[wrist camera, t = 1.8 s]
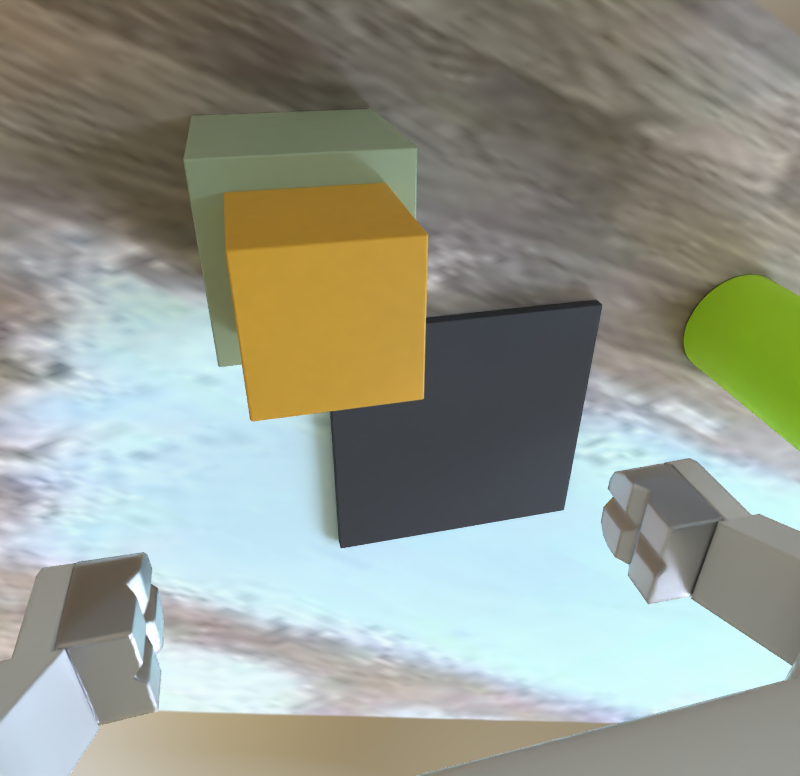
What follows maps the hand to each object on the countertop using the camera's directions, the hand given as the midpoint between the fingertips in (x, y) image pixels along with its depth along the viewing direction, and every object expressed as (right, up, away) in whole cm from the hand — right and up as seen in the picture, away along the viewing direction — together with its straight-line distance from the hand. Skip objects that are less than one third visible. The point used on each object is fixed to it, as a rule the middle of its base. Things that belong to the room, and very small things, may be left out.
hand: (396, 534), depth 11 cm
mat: (+3, 0, +24) cm, 25 cm away
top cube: (-3, +7, +10) cm, 12 cm away
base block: (-4, +10, +16) cm, 19 cm away
